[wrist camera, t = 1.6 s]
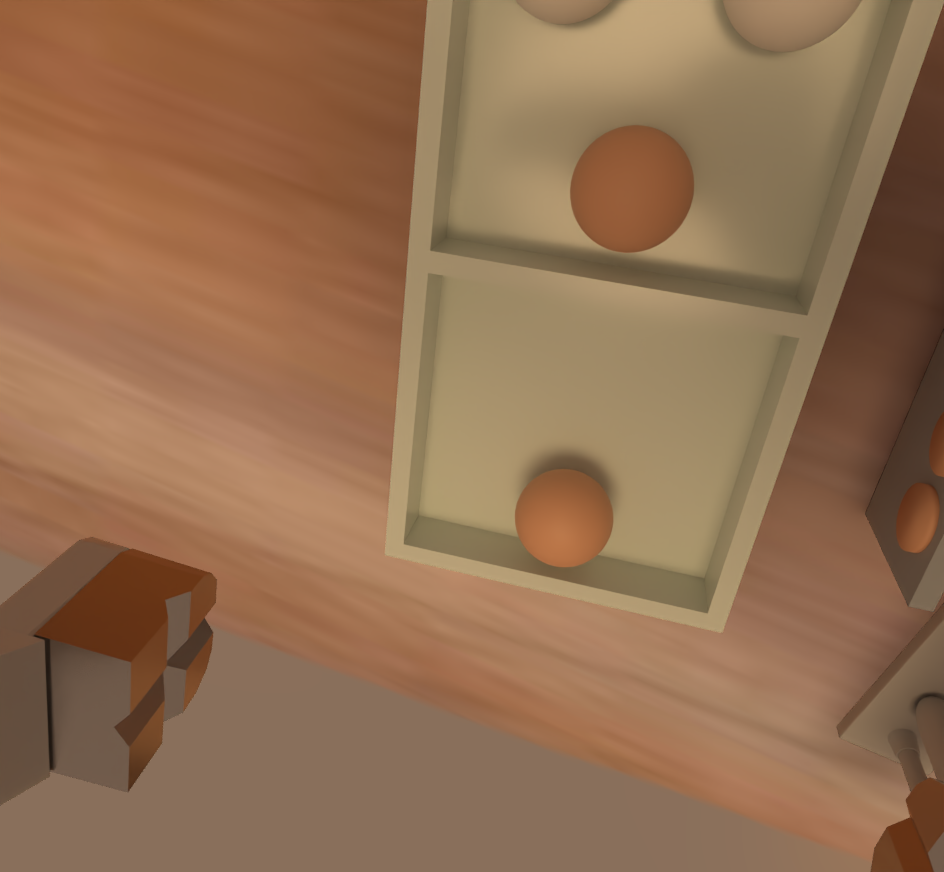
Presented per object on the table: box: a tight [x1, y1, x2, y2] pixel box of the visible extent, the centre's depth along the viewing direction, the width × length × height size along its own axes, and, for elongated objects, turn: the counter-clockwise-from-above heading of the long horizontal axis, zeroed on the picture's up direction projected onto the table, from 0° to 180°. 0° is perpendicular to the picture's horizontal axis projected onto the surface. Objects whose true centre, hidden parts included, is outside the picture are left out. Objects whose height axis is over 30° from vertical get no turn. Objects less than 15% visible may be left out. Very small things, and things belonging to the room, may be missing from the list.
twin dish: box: [385, 0, 944, 633], centre depth 28 cm, size 15×26×3 cm, turn 173°
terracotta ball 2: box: [570, 125, 694, 253], centre depth 25 cm, size 4×4×4 cm
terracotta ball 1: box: [515, 469, 613, 567], centre depth 31 cm, size 4×4×4 cm
